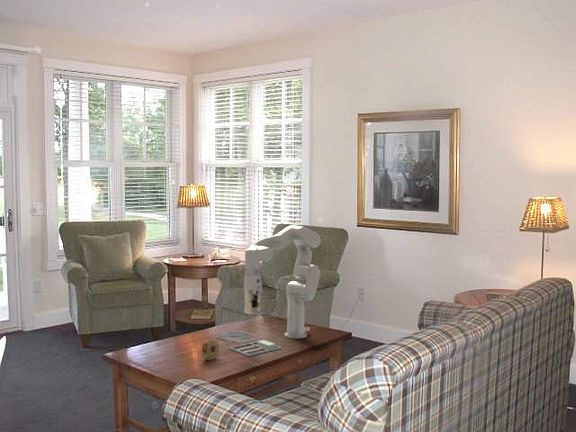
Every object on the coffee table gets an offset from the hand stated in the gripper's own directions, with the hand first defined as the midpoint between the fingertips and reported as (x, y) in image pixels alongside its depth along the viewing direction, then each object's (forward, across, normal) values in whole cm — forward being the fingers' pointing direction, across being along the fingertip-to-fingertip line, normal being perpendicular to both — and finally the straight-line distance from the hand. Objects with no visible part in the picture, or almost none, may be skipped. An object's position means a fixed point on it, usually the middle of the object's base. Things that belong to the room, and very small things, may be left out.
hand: (252, 306), depth 330 cm
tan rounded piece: (+23, 0, +26) cm, 35 cm away
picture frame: (+25, +21, -7) cm, 33 cm away
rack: (+23, -3, +1) cm, 24 cm away
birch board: (+3, 0, 0) cm, 3 cm away
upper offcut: (+22, -4, -6) cm, 23 cm away
